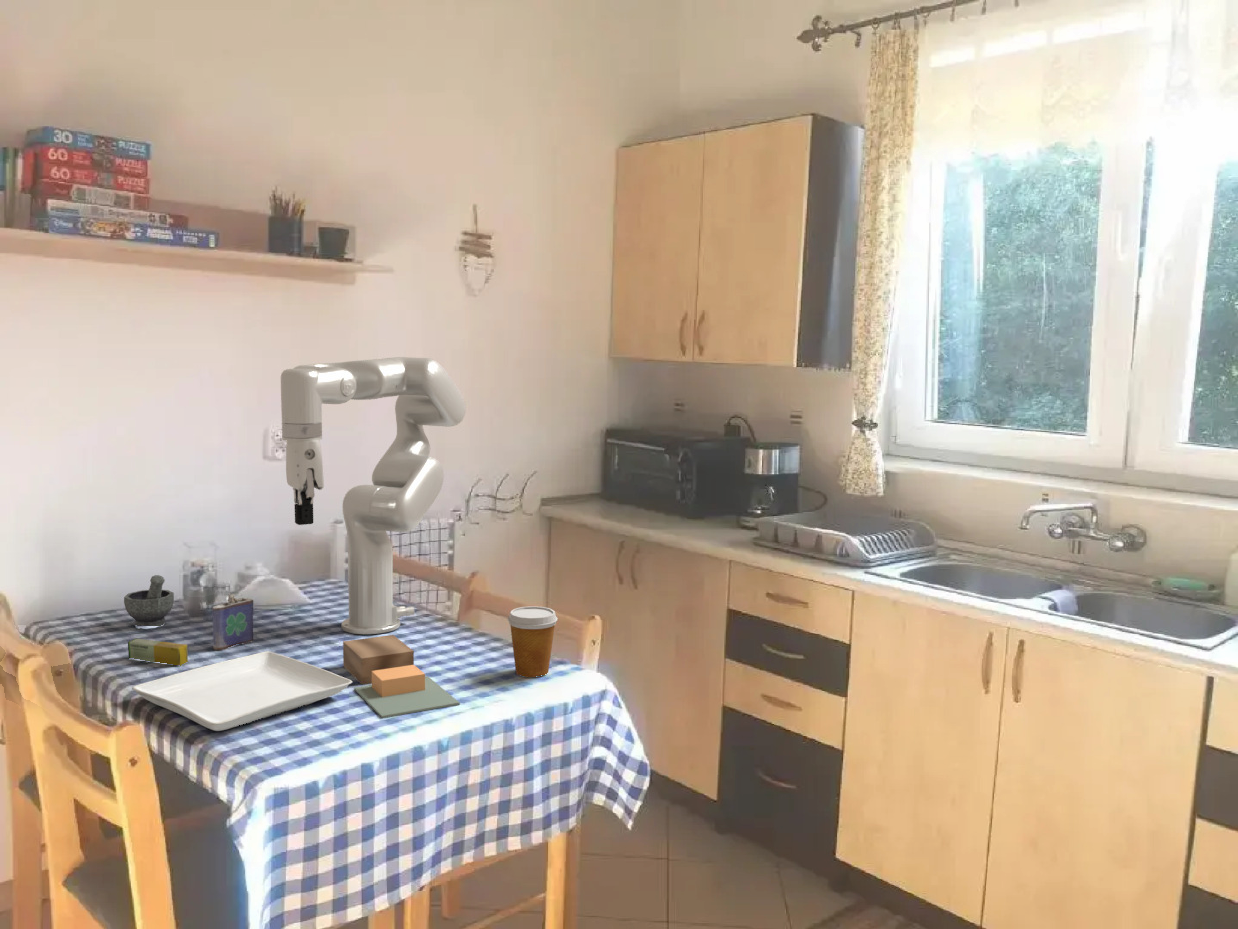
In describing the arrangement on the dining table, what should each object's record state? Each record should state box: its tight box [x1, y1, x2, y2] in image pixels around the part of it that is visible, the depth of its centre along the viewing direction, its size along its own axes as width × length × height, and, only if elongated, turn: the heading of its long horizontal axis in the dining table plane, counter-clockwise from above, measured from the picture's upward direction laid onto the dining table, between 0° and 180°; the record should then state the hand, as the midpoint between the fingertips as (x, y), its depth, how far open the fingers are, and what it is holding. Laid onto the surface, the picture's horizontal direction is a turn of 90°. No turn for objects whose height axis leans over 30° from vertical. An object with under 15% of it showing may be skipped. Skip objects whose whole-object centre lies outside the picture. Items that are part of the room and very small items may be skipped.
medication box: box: [127, 637, 189, 667], centre depth 202 cm, size 12×3×4 cm, turn 75°
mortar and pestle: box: [123, 574, 175, 626], centre depth 225 cm, size 11×9×12 cm
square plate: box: [131, 650, 353, 732], centre depth 182 cm, size 27×27×4 cm
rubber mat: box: [353, 675, 461, 719], centre depth 185 cm, size 14×16×1 cm
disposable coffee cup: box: [507, 605, 558, 678], centre depth 199 cm, size 10×10×12 cm
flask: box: [211, 593, 254, 651], centre depth 213 cm, size 9×3×11 cm, turn 146°
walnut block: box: [342, 634, 415, 686], centre depth 198 cm, size 10×12×5 cm
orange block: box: [371, 664, 426, 697], centre depth 188 cm, size 8×6×3 cm
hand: (304, 523), depth 205 cm, fingers closed
